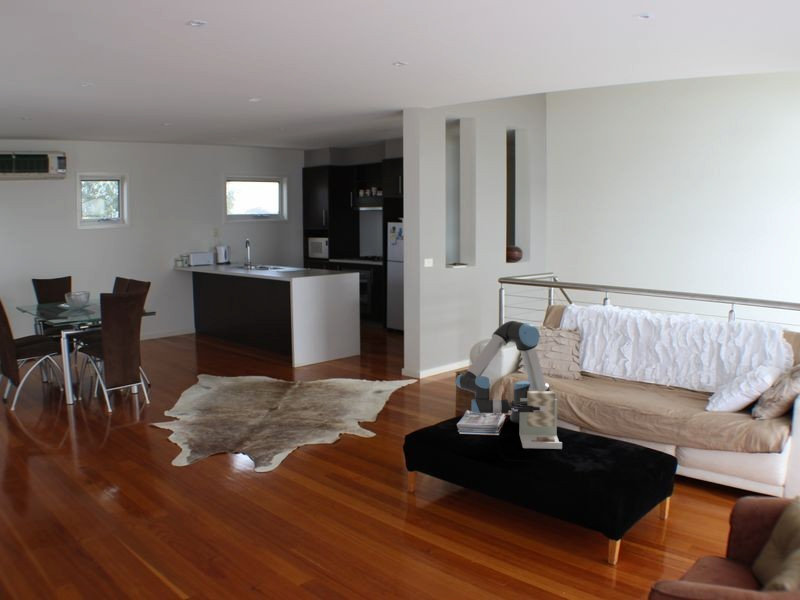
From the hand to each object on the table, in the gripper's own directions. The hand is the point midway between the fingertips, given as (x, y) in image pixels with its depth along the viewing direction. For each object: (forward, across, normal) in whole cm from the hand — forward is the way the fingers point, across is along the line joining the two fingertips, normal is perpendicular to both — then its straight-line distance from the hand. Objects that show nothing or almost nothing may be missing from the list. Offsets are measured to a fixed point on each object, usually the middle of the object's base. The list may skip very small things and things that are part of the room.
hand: (545, 406), depth 377 cm
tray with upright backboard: (-2, -2, -20) cm, 21 cm away
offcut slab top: (0, +5, -17) cm, 18 cm away
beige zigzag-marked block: (-2, 0, -10) cm, 10 cm away
